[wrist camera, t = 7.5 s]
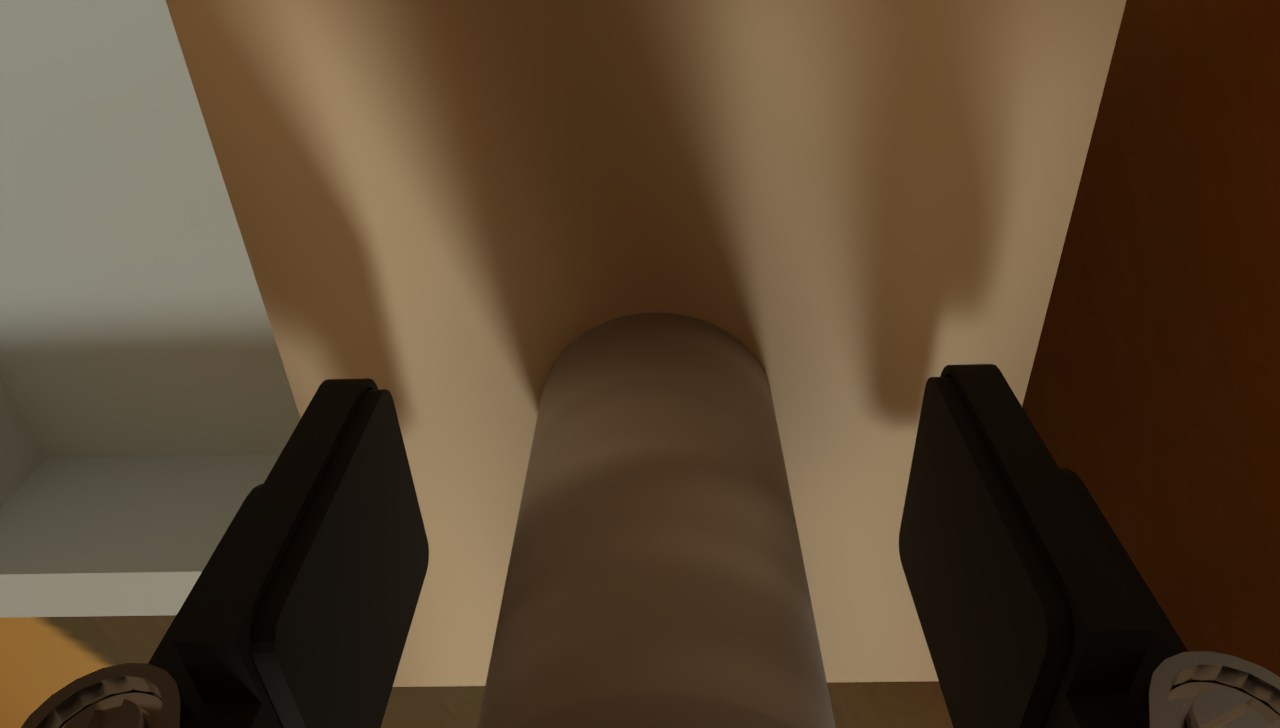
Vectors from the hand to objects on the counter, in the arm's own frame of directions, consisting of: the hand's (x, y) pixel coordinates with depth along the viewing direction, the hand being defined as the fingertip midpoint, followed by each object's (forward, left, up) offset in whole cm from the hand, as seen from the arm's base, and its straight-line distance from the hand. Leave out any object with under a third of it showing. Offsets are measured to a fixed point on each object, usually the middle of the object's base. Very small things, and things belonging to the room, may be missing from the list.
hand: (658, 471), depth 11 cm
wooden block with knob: (0, 0, -8) cm, 8 cm away
